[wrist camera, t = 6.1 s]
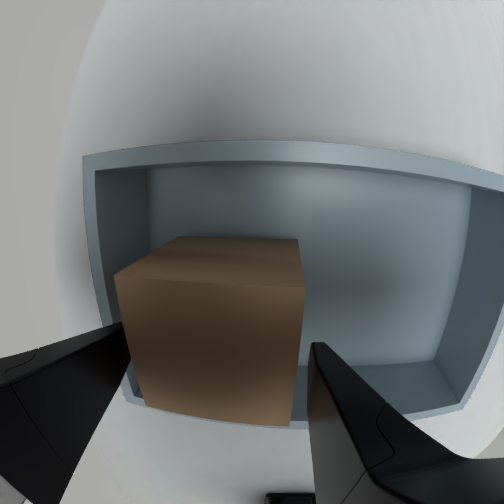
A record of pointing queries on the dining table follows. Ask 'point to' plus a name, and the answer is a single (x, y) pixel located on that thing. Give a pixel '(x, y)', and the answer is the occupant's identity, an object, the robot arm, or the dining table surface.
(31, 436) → the robot arm
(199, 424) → the dining table surface
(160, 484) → the dining table surface
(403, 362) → the tote
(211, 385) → the walnut cube
